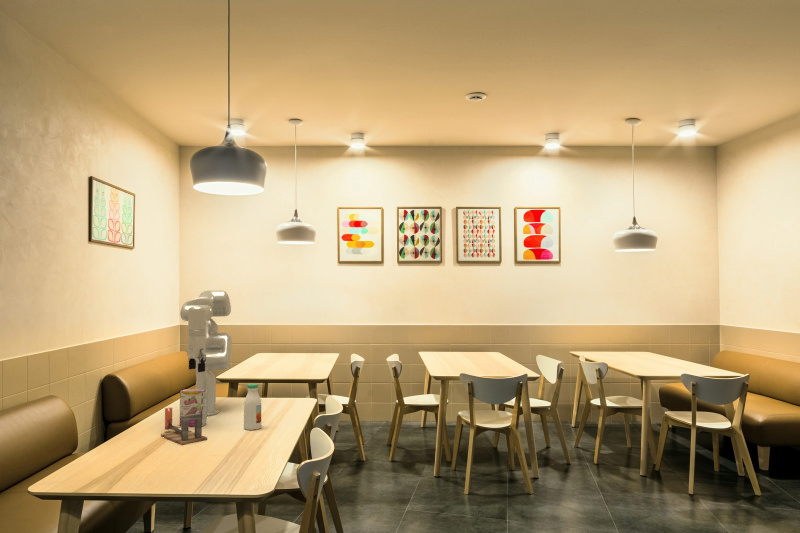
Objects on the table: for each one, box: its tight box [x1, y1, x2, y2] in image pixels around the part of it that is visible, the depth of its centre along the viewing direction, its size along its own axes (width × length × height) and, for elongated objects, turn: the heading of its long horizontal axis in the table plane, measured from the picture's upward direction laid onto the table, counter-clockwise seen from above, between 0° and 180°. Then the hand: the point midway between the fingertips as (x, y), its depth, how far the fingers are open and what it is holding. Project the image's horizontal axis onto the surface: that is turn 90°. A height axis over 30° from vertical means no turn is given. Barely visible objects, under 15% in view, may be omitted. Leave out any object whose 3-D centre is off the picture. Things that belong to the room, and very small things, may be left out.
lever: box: [164, 407, 181, 433], centre depth 243 cm, size 17×3×9 cm, turn 46°
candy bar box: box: [179, 388, 208, 428], centre depth 259 cm, size 11×5×16 cm, turn 84°
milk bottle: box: [243, 383, 262, 431], centre depth 254 cm, size 8×8×20 cm
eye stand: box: [160, 413, 208, 446], centre depth 237 cm, size 20×11×11 cm, turn 46°
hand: (196, 370), depth 256 cm, fingers open, 9 cm apart
